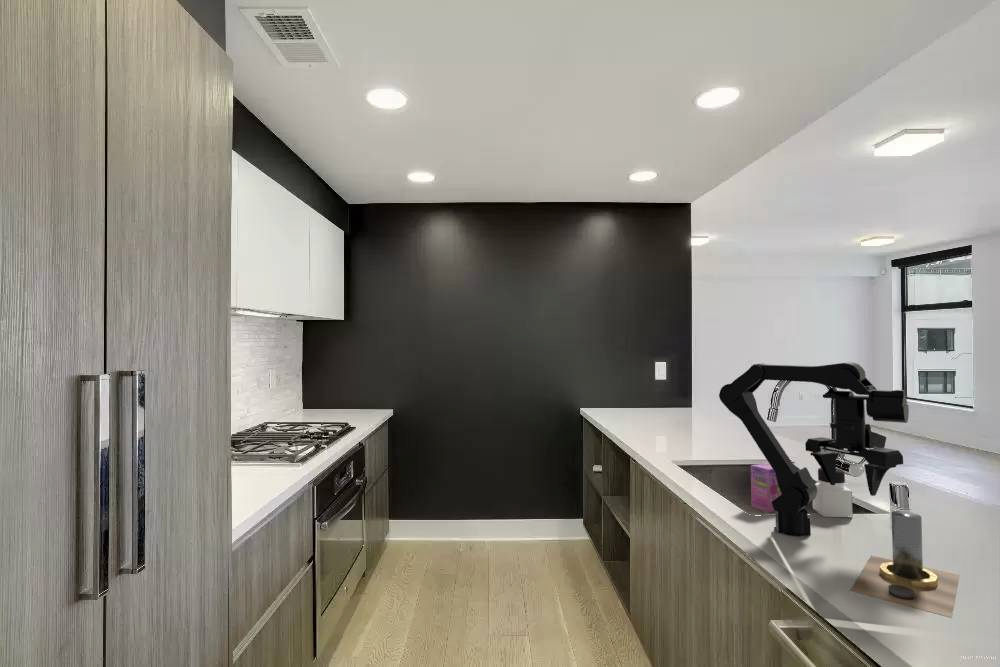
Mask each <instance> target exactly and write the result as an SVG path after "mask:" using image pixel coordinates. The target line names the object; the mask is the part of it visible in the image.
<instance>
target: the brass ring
mask: <svg viewBox="0 0 1000 667" xmlns="http://www.w3.org/2000/svg"><path fill="white" fill-rule="evenodd" d="M879 569H880V574H881V575H882V576H883V577H884V578H885V579H888V580H890V581H892V582H894V583H896V584H900V585H904V586H908V587H912V588H922V589H929V588H935V587H936V586H937V584H938V577H937V576H936V575H935V574H934V573H933V572H931V571H929V570H926V569H924V568H923V577H925V578H927V579H923V580H920V579H910V578H906V577H902V576H898V575H896V574H894V573H892V572H890V571H893V562H888V563H882V564H881V565H880V567H879Z"/></svg>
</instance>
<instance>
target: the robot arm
mask: <svg viewBox="0 0 1000 667" xmlns="http://www.w3.org/2000/svg"><path fill="white" fill-rule="evenodd" d="M866 376H867V374H866V371H865V370H864V368H863V367H862V366H861V365H860V364H859V363H856V362H852V361H848V362H840V363H832V364H825V365H790V364H767V363H756V364H755V363H754V364H752V365H751V366H750V367H749V368H748V369H747V370H746V371H745V372H744V373H742V374H741V375H739V376H738V377H737V378H736V379H734V380H733V381H732V382H731V383H727V384H725V385H723V386H722V387H721V388H720V390H719V393H718V397H719V401H721V403H722V404H723V405H724V406H725V407H726V408H727V410H728V411H729V412H730V413H731V414H733V415H734V416H735V417H737V418H738V419H739V420H740V421H741V422H742V423H743V425H744V427H745V428H746V430H747V431H748V433H749V435H750V436H751V438H752V439H753V441H754V442H755V445H757V447H758V449H759V450H760V451H761V453H762V454H763V456H764V457H765V459H766V461H767V462H769V464H770V465H771V467H772V469H773V470H774V472H775V475H776V480H777V484H778V487H779V489H780V492H781V495H780V496H779V497H777V498H776V499H775V500H773V501H772V505H773V508H774V510H775V511H774V512H775V526H774V527H773V530H774V531H775V533H776V534H777V533H778V534H781V535H786V536H791V537H803V536H806V537H807V536H811V535H812V534H811V531H812V530H811V529H812V528H811V527H812V526H811V517H809V515H808V510H807V509H806V508H808V505H809V504H810V503H811V502H813V500H814V499H815V497H816V496H817V487H816V485H815V484H816V483H818V482H817V481H816V480H815V479H814V478H813V477H812V475H811V474H810V471H809V470H808V468H807V467H806V466H805V467H802V468H801V469H800V467H798V466H797V465H795V464H794V463H793V462H792V460H791V459H790V457H789V456H788V454H787V453H786V451H785V450H784V448H783V447H782V445H781V443H780V442H779V440H778V439H777V438H776V436H775V435H774V434H773V431H772V430H771V429H770V427H769V425H768V424H767V423H766V421H765V420H764V418H763V417H762V416H761V414H760V412H759V409H758V406H757V400H756V398H755V395H754V394H753V393H754V392H756V391H757V390H758V389H759V387H760V386H761V385H762V384H763V383H764V382H765V380H766V381H780V382H781V381H782V382H798V383H799V382H801V383H803V382H804V383H815V384H819V385H823V386H826V387H830V388H828V390H827V391H826V392H825V393H824V394H822V398H824V399H833V418H834V419H833V420H834V422H830V423H829V426H830V427H829V428H830V429H834V439H833V438H829V437H821V436H819V437H812V438H807V439H806V442H805V443H804V445H805V446H804V447H805V451H806V452H810V453H809V454H810V456H812V457H814V459H815V461H816V462H817V464H818V465H819V468H822V470H823V472H824V474H825V475H826V477H827V479H828V481H829V482H830V484H831V485H835V484H836V468H837V459H838V457H839V455H840V454H843V455H849V456H854V457H859V458H863V459H864V460H865V462H867V463H866V464H865V463H864V464H863V466H864V471H865V476H866V483H867V487H868V491H869V495H870V496H872V497H873V496H876V495H877V493H878V491H879V488H880V486H881V483H882V481H883V479H884V477H885V475H886V473H887V472H888V471H889V470H890V469H892V468H896V467H897V466H899V465H904V455H903V454H902V452H901V451H899V449H893V448H892V449H891V448H886V447H885V446H886V442H887V436H885V435H882V434H880V433H878V432H875V431H872V430H871V429H872V427H871V425H870V423H866V415H867V416H869V417H870V418H872V420H873V421H874V422H886V423H898V424H899V423H900V424H901V423H902V424H907V423H908V421H909V415H910V412H909V409H910V408H909V407H910V406H909V404H908V400H907V396H906V391H905V390H904V389H895V390H893V389H892V390H890V389H889V390H885V389H882V390H881V389H877V388H876V387H875V386H874V384H873V383H872V382H871V381H870V380H869V379H868V378H867V377H866ZM838 389H839V390H838ZM840 389H841V390H840ZM855 394H856V395H855ZM865 403H866V404H865Z"/></svg>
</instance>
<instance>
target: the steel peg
mask: <svg viewBox="0 0 1000 667" xmlns="http://www.w3.org/2000/svg"><path fill="white" fill-rule="evenodd" d="M922 524H923V522H922V516H921V515H920V514H917V513H915V512H911V511H905V510H893V511H891V538H892V539H891V544H892V546H891V548H892V560H893V573H894V574H896V575H898V576H902V577H906V578H910V579H920V580H923V567H924V566H923V564H924V563H923V530H922V529H923V527H922V526H923V525H922Z"/></svg>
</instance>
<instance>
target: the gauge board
mask: <svg viewBox="0 0 1000 667" xmlns="http://www.w3.org/2000/svg"><path fill="white" fill-rule="evenodd" d="M888 562H893V559H890V558H884V557H880V556H876V555H870V556H869V557H868V560H867V561H866V563H865V565H864V566H863V567H862V568H863V569H862V570H861V572H860V573H859V574H858V576H857V579H856V580H855V582H854V583H853V585H852V587H850V590H849V591H850V592H853V593H857V594H860V595H863V596H868V597H871V598H872V597H873V598H876V599H880V600H883V601H887V602H891V603H894V604H898V605H903V606H905V607H909V608H913V609H916V610H921V611H925V612H928V613H932V614H935V615H939V616H943V617H947V618H951V619H952V618H953V611H954V607H955V603H956V602H955V601H956V598H957V597H956V596H957V593H958V592H957V590H958V586H959V580H960V574H957V573H952V572H948V571H944V570H938V569H935V568H930V567H927V566H926V567H925V566H923V568H924V569H926V570H929V571H931V572H933V573H934V574H935V575H936V576H937V577H938V584H937V586H936V587H935V588H929V589H922V588H912V587H908V586H904V585H900V584H896V583H894V582H892V581H890V580H888V579H885V578H884V577H883V576H882V575H881V574H880V569H879V567H880V565H881V564H882V563H888ZM890 572H892V573H893V571H890ZM923 579H927V578H925V577H923Z"/></svg>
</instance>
